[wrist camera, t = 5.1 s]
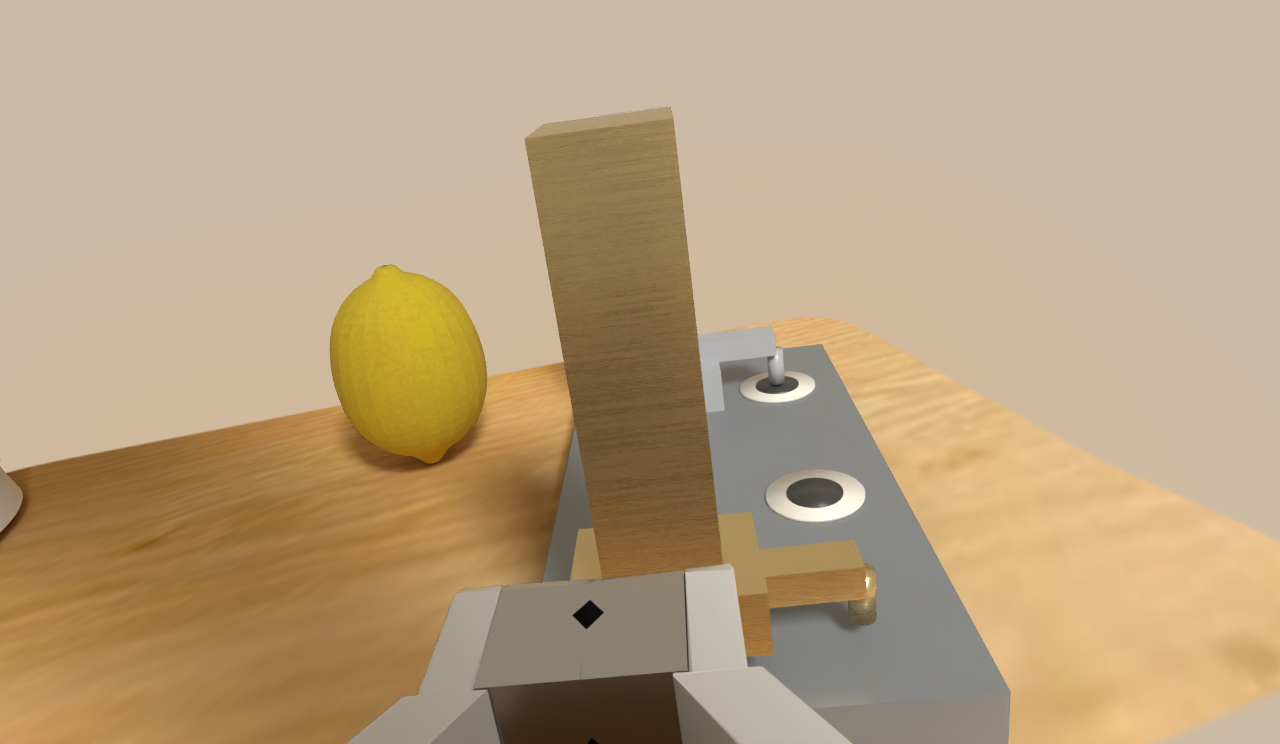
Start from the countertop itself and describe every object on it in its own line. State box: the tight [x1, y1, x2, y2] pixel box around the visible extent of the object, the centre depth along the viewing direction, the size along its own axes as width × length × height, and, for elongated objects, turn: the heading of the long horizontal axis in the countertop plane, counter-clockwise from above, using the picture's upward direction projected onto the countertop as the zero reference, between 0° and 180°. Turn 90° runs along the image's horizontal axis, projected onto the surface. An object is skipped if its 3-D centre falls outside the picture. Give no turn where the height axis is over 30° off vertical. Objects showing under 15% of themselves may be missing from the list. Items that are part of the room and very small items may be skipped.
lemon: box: [330, 265, 487, 464], centre depth 31 cm, size 6×6×8 cm
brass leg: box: [525, 107, 877, 657], centre depth 16 cm, size 6×3×11 cm, turn 89°
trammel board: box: [542, 106, 1010, 744], centre depth 24 cm, size 10×20×12 cm, turn 179°
